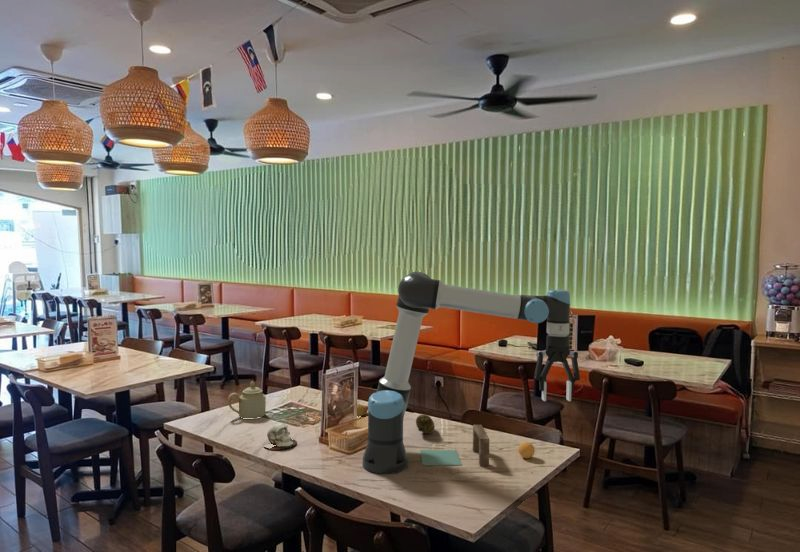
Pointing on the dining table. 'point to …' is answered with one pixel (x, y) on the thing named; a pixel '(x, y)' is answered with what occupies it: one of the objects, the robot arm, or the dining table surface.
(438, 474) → the dining table surface
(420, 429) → the dark green avocado
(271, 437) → the skull
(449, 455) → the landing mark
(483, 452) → the bridge
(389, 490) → the dining table surface
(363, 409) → the croissant
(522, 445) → the ball
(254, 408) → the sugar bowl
